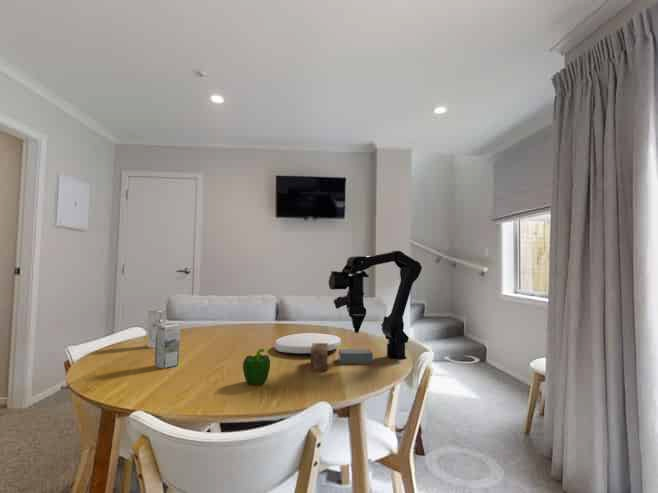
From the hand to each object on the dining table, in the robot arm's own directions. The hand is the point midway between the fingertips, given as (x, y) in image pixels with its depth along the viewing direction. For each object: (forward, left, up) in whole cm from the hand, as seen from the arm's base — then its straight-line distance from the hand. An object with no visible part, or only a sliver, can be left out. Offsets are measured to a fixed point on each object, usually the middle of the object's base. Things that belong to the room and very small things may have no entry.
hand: (355, 330), depth 132 cm
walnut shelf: (+13, +7, -12) cm, 19 cm away
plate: (+19, -17, -12) cm, 28 cm away
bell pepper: (+32, +25, -12) cm, 42 cm away
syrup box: (+67, +9, -12) cm, 69 cm away
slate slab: (0, 0, -12) cm, 12 cm away
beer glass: (+85, -19, -12) cm, 88 cm away
